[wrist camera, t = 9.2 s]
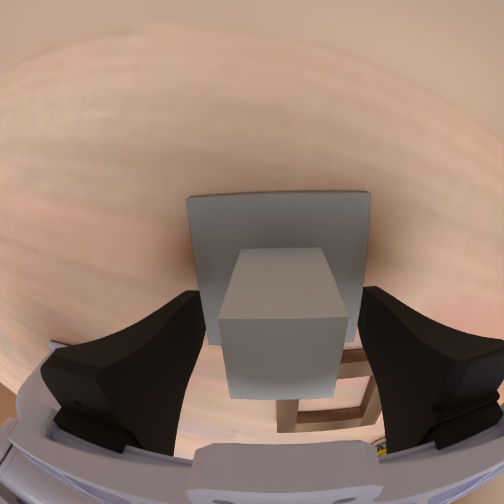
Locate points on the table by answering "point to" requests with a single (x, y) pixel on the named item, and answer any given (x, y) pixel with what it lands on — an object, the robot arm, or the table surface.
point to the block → (282, 325)
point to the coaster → (279, 240)
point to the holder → (366, 414)
